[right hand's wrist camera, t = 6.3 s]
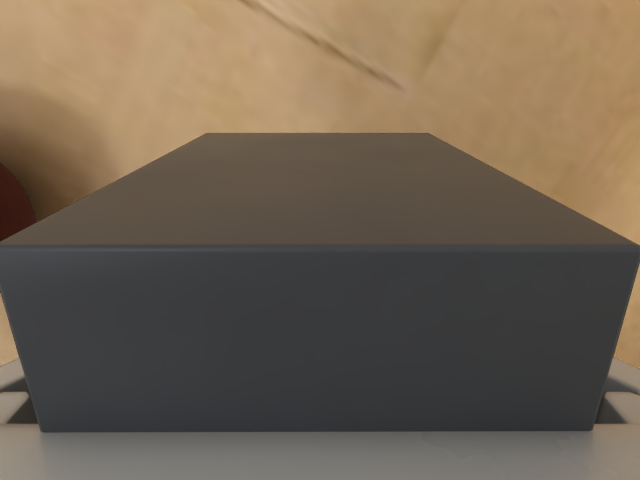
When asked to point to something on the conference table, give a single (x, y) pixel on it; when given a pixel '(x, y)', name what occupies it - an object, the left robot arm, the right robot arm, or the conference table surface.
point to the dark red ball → (13, 206)
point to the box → (316, 294)
